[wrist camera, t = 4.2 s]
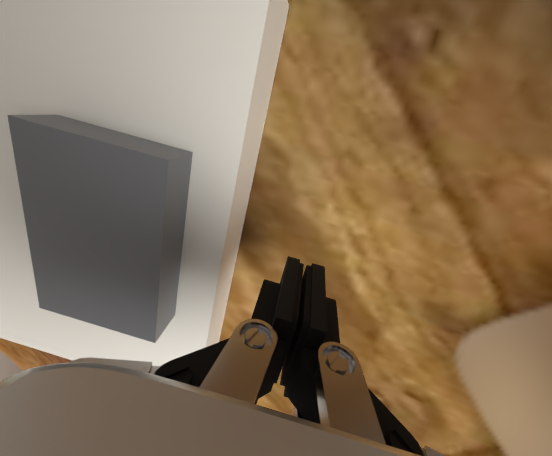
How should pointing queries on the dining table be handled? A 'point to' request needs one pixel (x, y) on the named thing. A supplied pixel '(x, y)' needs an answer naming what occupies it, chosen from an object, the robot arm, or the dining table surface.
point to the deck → (145, 124)
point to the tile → (102, 221)
